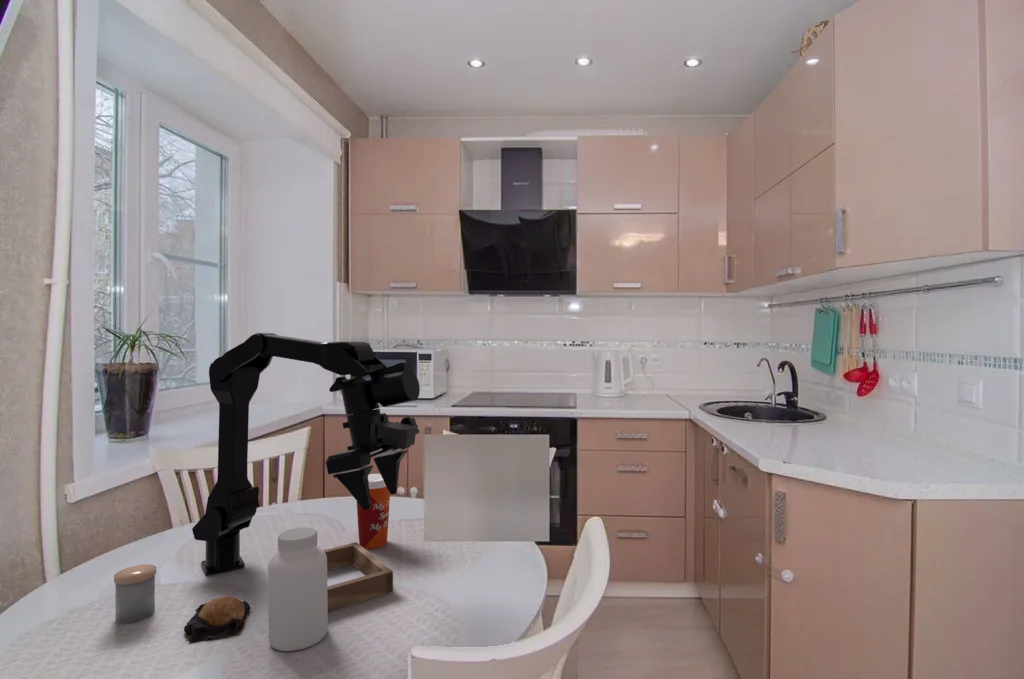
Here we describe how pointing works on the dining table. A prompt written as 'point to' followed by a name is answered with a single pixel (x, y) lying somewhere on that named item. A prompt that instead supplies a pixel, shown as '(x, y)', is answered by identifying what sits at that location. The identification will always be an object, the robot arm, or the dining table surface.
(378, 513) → the paper cup
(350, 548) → the tray
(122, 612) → the grey sugar pot
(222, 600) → the bread roll
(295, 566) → the pill bottle
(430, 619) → the dining table surface
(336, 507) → the dining table surface
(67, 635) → the dining table surface
